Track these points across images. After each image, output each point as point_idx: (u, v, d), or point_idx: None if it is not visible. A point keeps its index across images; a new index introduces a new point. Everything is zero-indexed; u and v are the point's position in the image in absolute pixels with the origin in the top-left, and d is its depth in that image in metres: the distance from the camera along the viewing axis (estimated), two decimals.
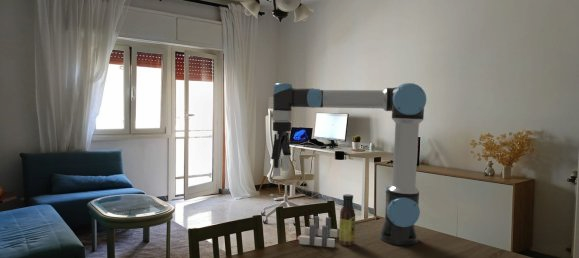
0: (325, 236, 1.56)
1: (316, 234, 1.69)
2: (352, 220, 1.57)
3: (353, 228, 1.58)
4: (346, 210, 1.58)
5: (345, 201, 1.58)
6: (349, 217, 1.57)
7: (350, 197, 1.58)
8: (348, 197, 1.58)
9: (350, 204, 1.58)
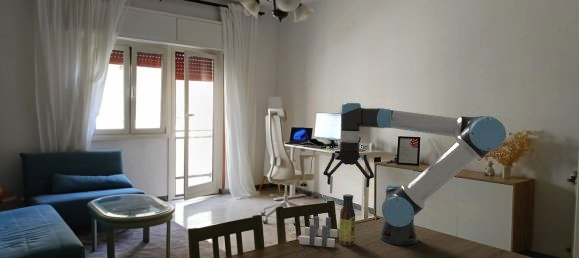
0: (325, 236, 1.56)
1: (316, 234, 1.69)
2: (352, 220, 1.57)
3: (353, 228, 1.58)
4: (346, 210, 1.58)
5: (345, 201, 1.58)
6: (349, 217, 1.57)
7: (350, 197, 1.58)
8: (348, 197, 1.58)
9: (350, 204, 1.58)
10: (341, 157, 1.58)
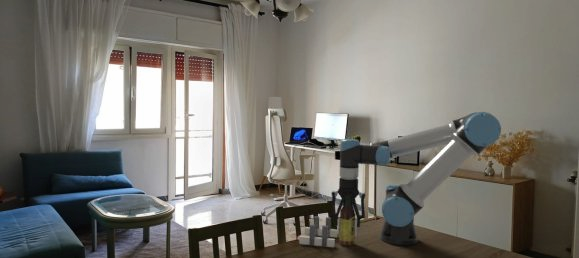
0: (325, 236, 1.56)
1: (316, 234, 1.69)
2: (352, 220, 1.57)
3: (353, 228, 1.58)
4: (346, 210, 1.58)
5: (345, 201, 1.58)
6: (349, 217, 1.57)
7: (350, 197, 1.58)
8: (348, 197, 1.58)
9: (350, 204, 1.58)
10: (341, 193, 1.59)
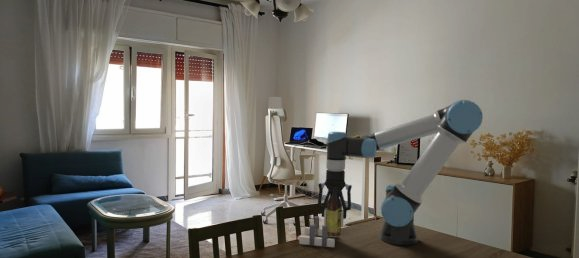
0: (325, 236, 1.56)
1: (316, 234, 1.69)
2: (338, 211, 1.59)
3: (339, 219, 1.60)
4: (333, 201, 1.59)
5: (332, 193, 1.60)
6: (335, 209, 1.59)
7: None
8: (335, 189, 1.60)
9: (337, 196, 1.60)
10: (328, 185, 1.61)
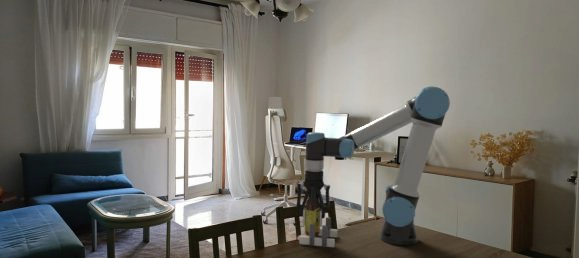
0: (325, 236, 1.56)
1: None
2: (317, 211, 1.61)
3: (318, 219, 1.62)
4: (311, 201, 1.61)
5: (311, 193, 1.62)
6: (313, 209, 1.61)
7: (315, 189, 1.62)
8: (313, 189, 1.62)
9: (315, 196, 1.62)
10: (306, 185, 1.62)
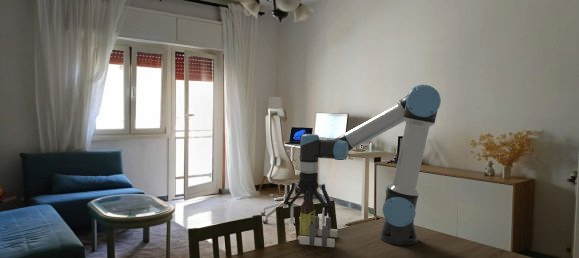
0: (325, 236, 1.56)
1: (316, 234, 1.69)
2: (312, 214, 1.62)
3: (313, 222, 1.62)
4: (306, 205, 1.62)
5: (305, 196, 1.63)
6: (308, 212, 1.61)
7: None
8: (308, 192, 1.62)
9: (310, 199, 1.63)
10: (300, 187, 1.63)
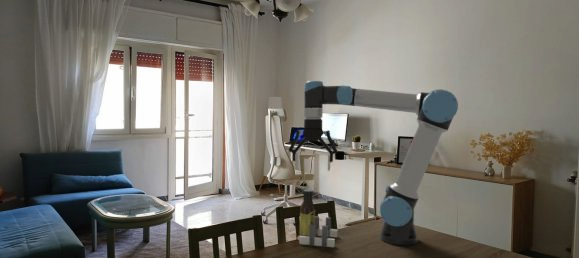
0: (325, 236, 1.56)
1: (316, 234, 1.69)
2: (311, 215, 1.62)
3: (312, 222, 1.62)
4: (305, 205, 1.62)
5: (305, 196, 1.63)
6: (308, 212, 1.61)
7: (309, 192, 1.62)
8: (307, 192, 1.62)
9: (310, 199, 1.62)
10: (305, 134, 1.64)
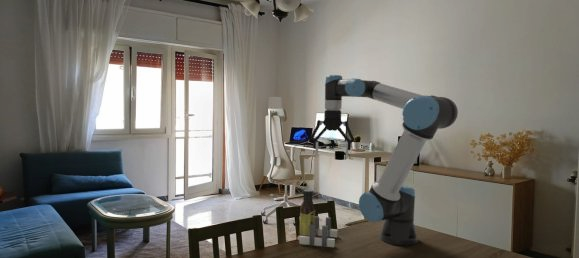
0: (325, 236, 1.56)
1: (316, 234, 1.69)
2: (311, 215, 1.62)
3: (312, 222, 1.62)
4: (305, 205, 1.62)
5: (305, 196, 1.63)
6: (308, 212, 1.61)
7: (309, 192, 1.62)
8: (307, 192, 1.62)
9: (310, 199, 1.62)
10: (325, 124, 1.78)
